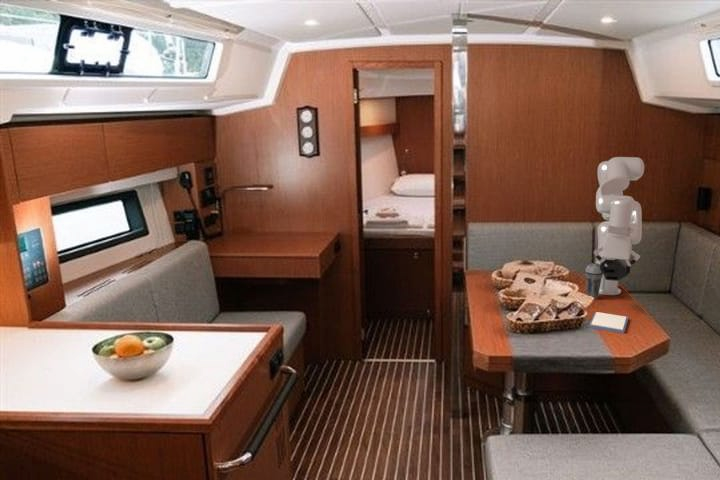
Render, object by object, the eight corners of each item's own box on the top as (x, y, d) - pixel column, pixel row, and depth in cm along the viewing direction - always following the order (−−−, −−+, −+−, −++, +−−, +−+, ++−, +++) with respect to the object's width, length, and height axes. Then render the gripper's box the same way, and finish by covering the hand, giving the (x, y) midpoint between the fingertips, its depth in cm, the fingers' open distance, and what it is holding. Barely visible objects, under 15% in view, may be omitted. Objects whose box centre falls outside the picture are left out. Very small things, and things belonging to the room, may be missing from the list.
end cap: (625, 281, 225) (627, 265, 223) (606, 280, 227) (607, 263, 225) (621, 274, 234) (623, 258, 233) (602, 273, 236) (604, 257, 235)
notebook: (594, 314, 230) (595, 311, 230) (628, 319, 224) (628, 316, 224) (588, 327, 216) (589, 324, 216) (624, 333, 210) (624, 330, 210)
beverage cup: (578, 296, 251) (583, 251, 247) (591, 294, 254) (595, 250, 250) (592, 301, 245) (596, 255, 240) (604, 299, 248) (609, 253, 243)
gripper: (644, 231, 225) (639, 274, 229) (596, 226, 233) (592, 268, 237) (642, 234, 219) (637, 279, 223) (593, 230, 227) (589, 273, 231)
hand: (614, 273), depth 230 cm, fingers closed on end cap, 8 cm apart
